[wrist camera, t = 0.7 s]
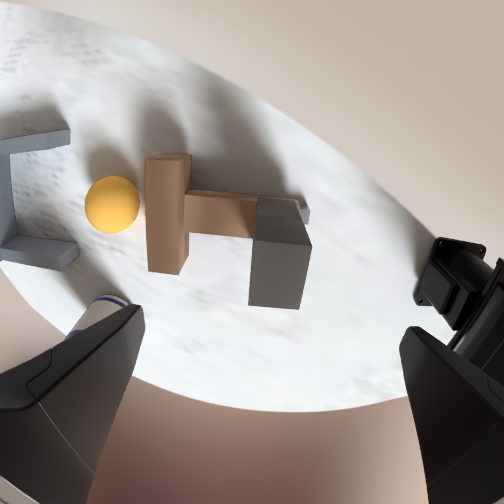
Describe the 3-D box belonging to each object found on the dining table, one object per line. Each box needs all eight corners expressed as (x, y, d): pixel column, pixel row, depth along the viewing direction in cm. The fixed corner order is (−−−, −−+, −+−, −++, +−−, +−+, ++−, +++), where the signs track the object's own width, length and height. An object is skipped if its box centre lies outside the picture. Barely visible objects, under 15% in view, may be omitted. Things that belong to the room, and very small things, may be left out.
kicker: (302, 165, 18) (331, 197, 10) (287, 264, 21) (299, 343, 13) (162, 153, 18) (99, 179, 10) (162, 251, 21) (116, 321, 13)
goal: (70, 129, 18) (19, 138, 13) (79, 255, 23) (41, 290, 17) (1, 139, 18) (-44, 152, 12) (13, 245, 22) (-24, 273, 17)
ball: (147, 171, 20) (124, 183, 16) (148, 224, 21) (127, 245, 18) (100, 170, 20) (71, 182, 16) (103, 220, 21) (77, 240, 18)
